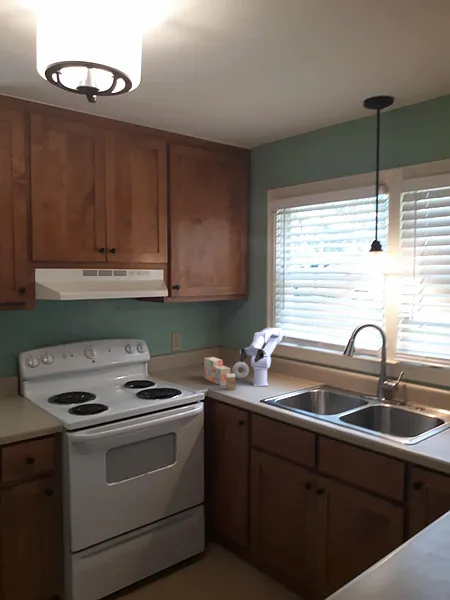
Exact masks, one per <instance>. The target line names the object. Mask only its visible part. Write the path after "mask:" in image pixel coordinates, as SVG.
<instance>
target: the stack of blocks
mask: <svg viewBox="0 0 450 600" xmlns="http://www.w3.org/2000/svg"><path fill="white" fill-rule="evenodd" d="M203 360H204V361H203V363H204V364H203V365H204V366H203V367H204V373H203V374H204V375H203V376H204V377H203V378H204V379H206V380H207V381H210V382H211V383H214V384H217V385H218V384H219V386H220V385H221V386H226V374H231V368H230V367H228V366H225V365H224V361H223V359H221V358H217V357H215V356H209V357H203Z"/></svg>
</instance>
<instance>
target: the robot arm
mask: <svg viewBox="0 0 450 600" xmlns="http://www.w3.org/2000/svg"><path fill="white" fill-rule="evenodd" d="M283 336H284V330H283V328H281V327H280V328H279V327H266V328H263V330H261V331H260V332H259V331H257V332H255V333H254V335H253V340H252V342H251V344H250V346H248V347H245V348H241V349H240V350H239V354H240V362H245V360H246V359H247V358H248V357H247V355H248V356H251V359H250V366H251V367H252V369H253V380H252V385H253V387H269V384H268V369H270V367H271V362H272V357H271V356H272V354H273V352H274V350H275V349H276V347H277V345H278V344H280V343H281V341H282V340H283ZM264 344H265V346H264ZM263 346H264V348H263Z"/></svg>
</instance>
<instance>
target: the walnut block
mask: <svg viewBox="0 0 450 600" xmlns="http://www.w3.org/2000/svg"><path fill="white" fill-rule="evenodd" d="M225 386H226V388H227V389H226V391H236V377H235V374H233V373H230V374H226V385H225Z"/></svg>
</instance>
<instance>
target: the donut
mask: <svg viewBox="0 0 450 600" xmlns="http://www.w3.org/2000/svg"><path fill="white" fill-rule="evenodd" d="M239 369H242V372H239ZM249 371H250V367H249V365H248V364H247V363H246V362H245V361H243V362H241V361H237V362H236V363H235V364H233V366H232V370H231V373H232V374H235V379H236V378H237V379H240V380H241V379H244V378H246V377H247V376H249V375H248V374H249Z"/></svg>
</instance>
